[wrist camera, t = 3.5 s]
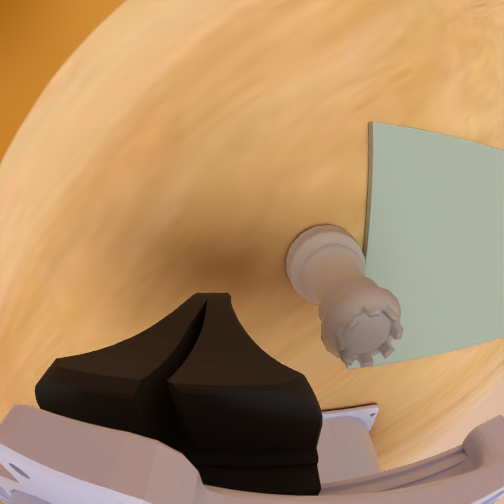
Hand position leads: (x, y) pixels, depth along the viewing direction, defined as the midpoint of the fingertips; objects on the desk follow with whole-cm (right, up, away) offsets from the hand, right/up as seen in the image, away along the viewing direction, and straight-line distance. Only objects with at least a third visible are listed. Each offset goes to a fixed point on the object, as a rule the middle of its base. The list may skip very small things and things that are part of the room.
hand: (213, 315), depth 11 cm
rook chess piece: (+6, +2, +6) cm, 8 cm away
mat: (+17, +2, +6) cm, 18 cm away
